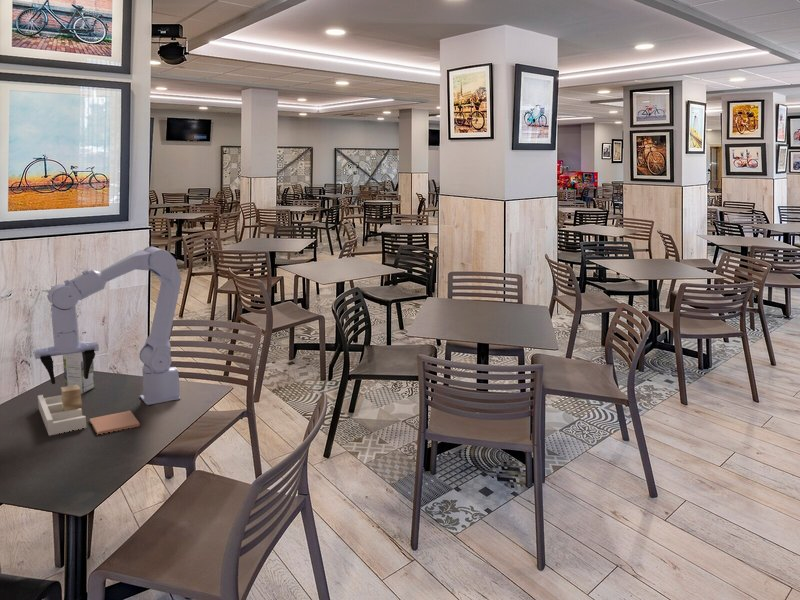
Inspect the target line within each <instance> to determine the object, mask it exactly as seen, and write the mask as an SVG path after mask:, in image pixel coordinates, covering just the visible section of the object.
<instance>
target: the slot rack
mask: <svg viewBox="0 0 800 600" xmlns="http://www.w3.org/2000/svg"><path fill="white" fill-rule="evenodd" d="M37 401H38V402H37V403H38V410H39V413H40V415H41V418H42V422H43V424H44V427H45V429H46V432H47V434H48V436H49V437H50V436H54V435H59V433H60V434H64V432H65V433H68V432H69V431H70V432H73V431H72V430H74V431H79V430H83V429H82V428H84V429H87V428H88V427H87V417H86V415H83V416H82V414H83V408H82V409H81V408H79V409H73V410H68V411H63V405H62V394H59V395H54V396H48V397H44V394H39V395H37ZM78 429H79V430H78Z"/></svg>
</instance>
